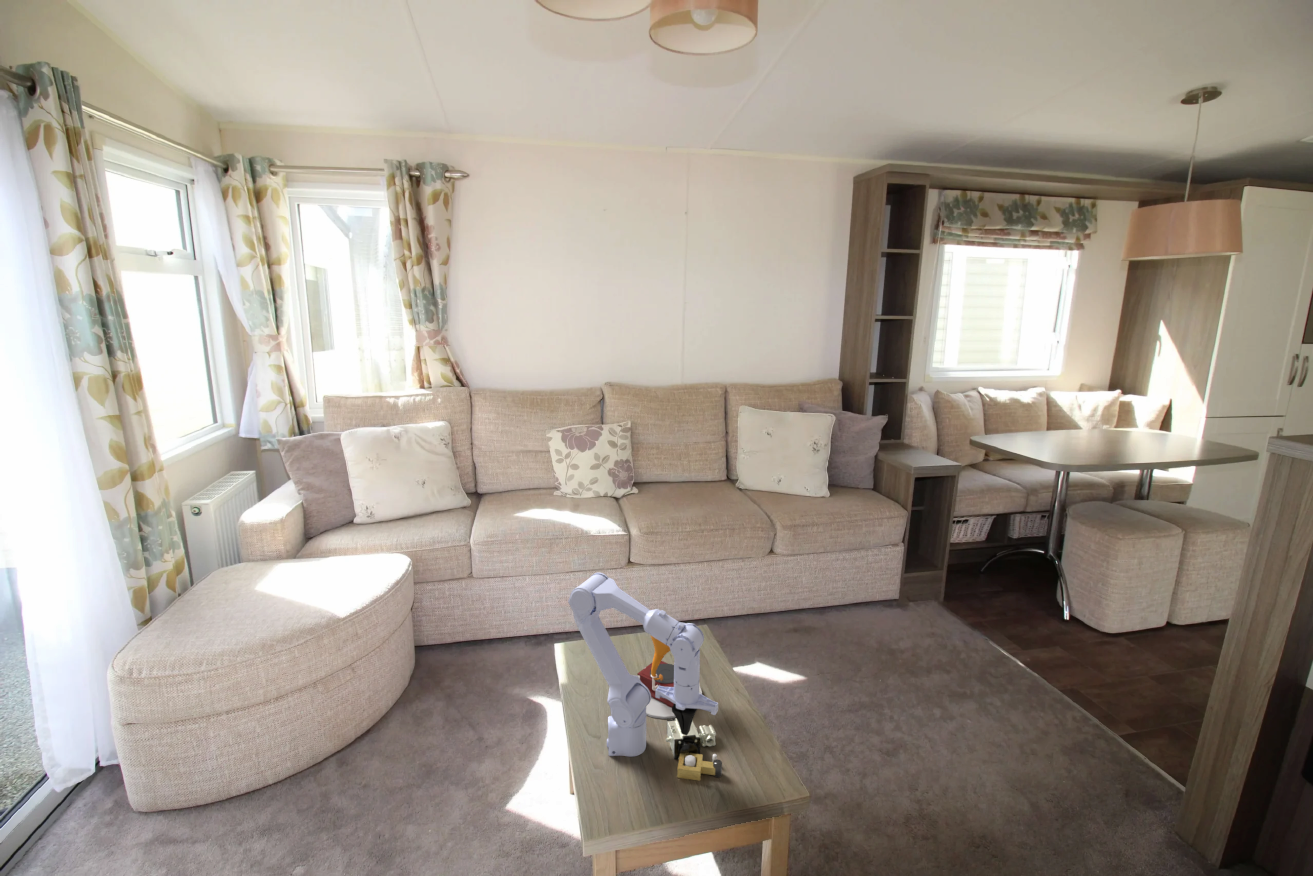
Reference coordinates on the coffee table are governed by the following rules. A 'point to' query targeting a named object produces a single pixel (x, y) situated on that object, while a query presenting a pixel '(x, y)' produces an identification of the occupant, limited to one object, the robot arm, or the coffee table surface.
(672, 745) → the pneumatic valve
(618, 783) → the coffee table surface
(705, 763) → the square nut with handle
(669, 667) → the gramophone
